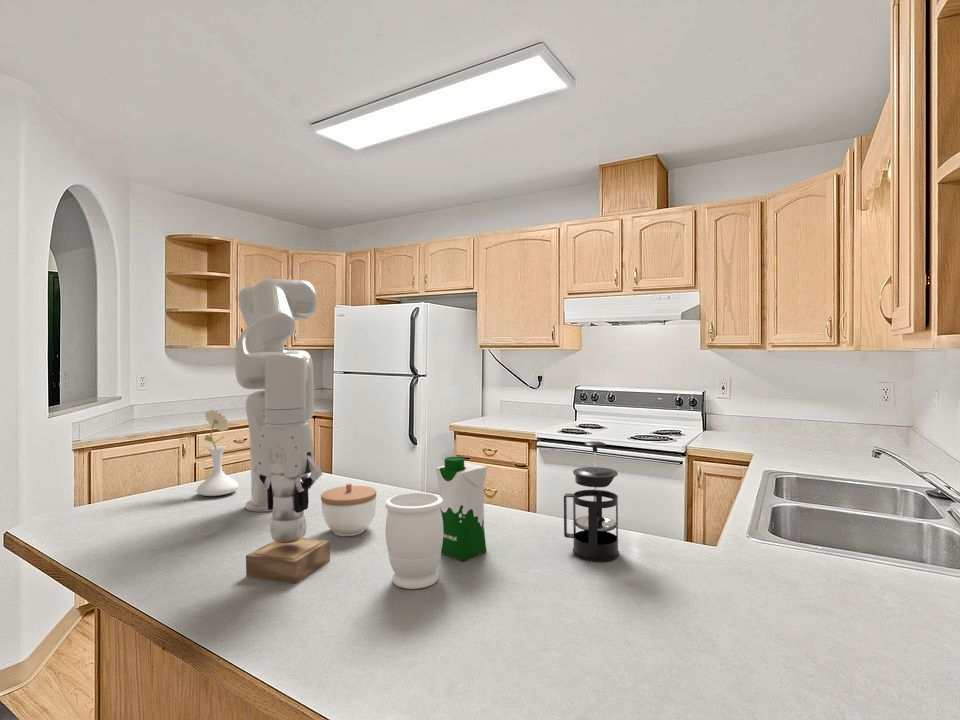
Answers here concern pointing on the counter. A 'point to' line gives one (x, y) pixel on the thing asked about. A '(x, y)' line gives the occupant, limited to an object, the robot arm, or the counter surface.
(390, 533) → the jar
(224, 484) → the flower in vase
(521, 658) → the counter surface
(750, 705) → the counter surface
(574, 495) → the french press
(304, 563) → the base slab
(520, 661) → the counter surface
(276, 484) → the plastic bottle
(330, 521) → the lidded bowl
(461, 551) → the milk carton
